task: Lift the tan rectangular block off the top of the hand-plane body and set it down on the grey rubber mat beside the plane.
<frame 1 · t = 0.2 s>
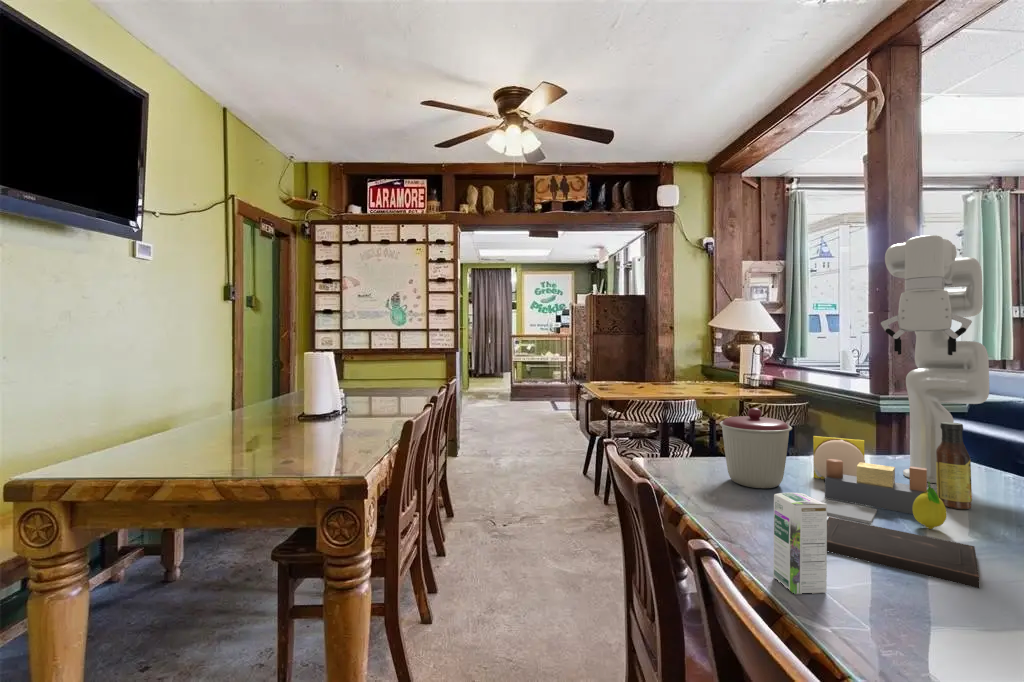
hand: (924, 354, 121), 36 cm above the table, tool pointing down, fingers open, 9 cm apart
syrup box: (799, 586, 80), on the table
tan rectangular block: (875, 482, 119), point 5 cm above the table, touching plane body
canister: (754, 484, 136), on the table
mat: (847, 512, 113), on the table
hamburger: (838, 482, 137), on the table
plane body: (875, 503, 119), on the table
hardcover book: (893, 555, 92), on the table
sauce bottle: (953, 506, 117), on the table
lemon: (930, 530, 103), on the table
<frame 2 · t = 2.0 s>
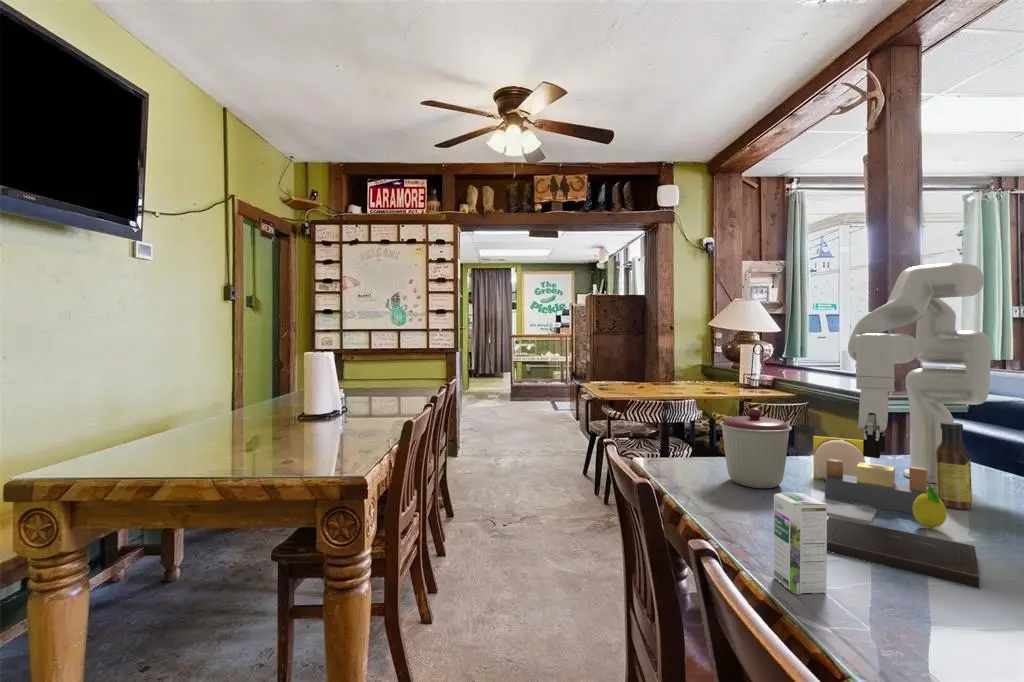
hand: (874, 454, 119), 12 cm above the table, tool pointing down, fingers open, 9 cm apart
nothing on the table moved.
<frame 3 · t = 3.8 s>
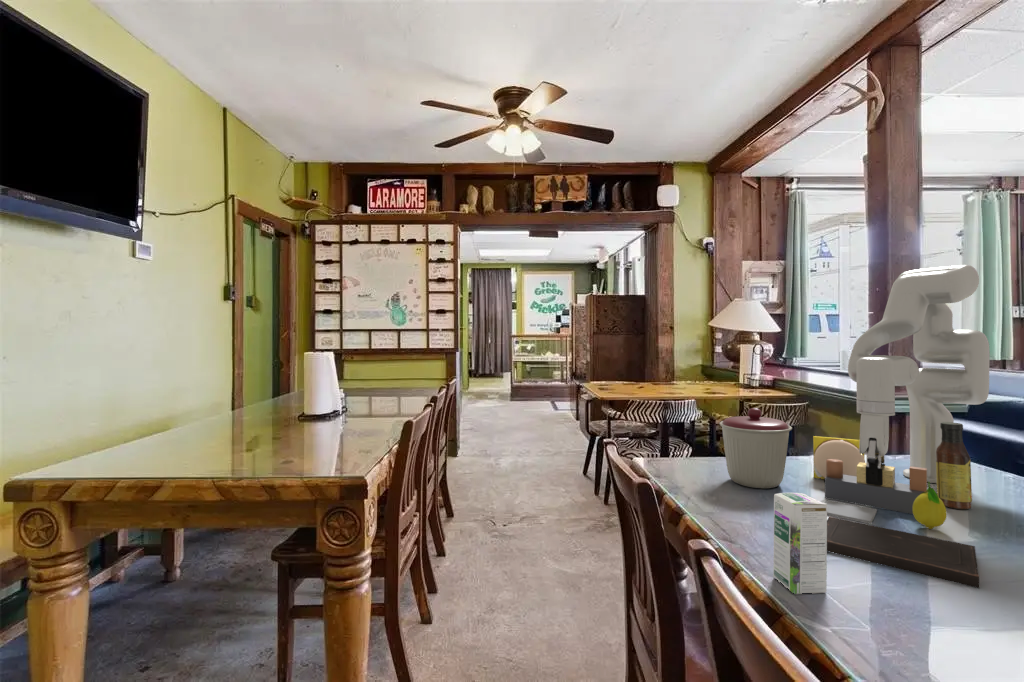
hand: (875, 481, 119), 5 cm above the table, tool pointing down, fingers closed on tan rectangular block, 5 cm apart
tan rectangular block: (875, 482, 119), point 5 cm above the table, touching gripper, plane body
everything else where it was.
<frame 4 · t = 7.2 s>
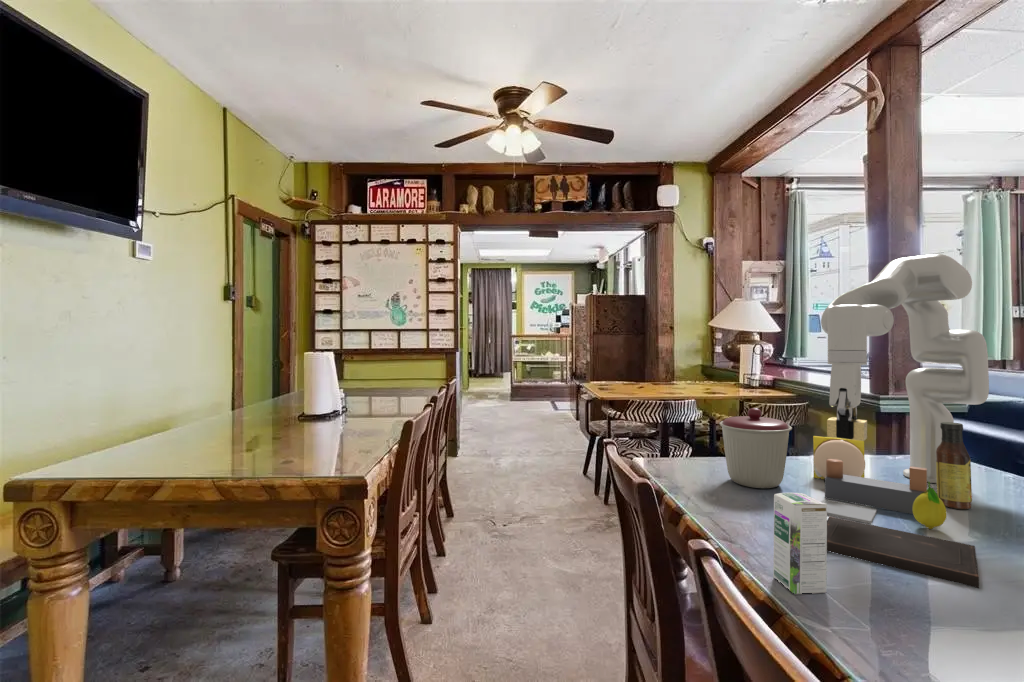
hand: (847, 435, 113), 18 cm above the table, tool pointing down, fingers closed on tan rectangular block, 5 cm apart
tan rectangular block: (847, 437, 113), point 18 cm above the table, touching gripper
everything else where it was.
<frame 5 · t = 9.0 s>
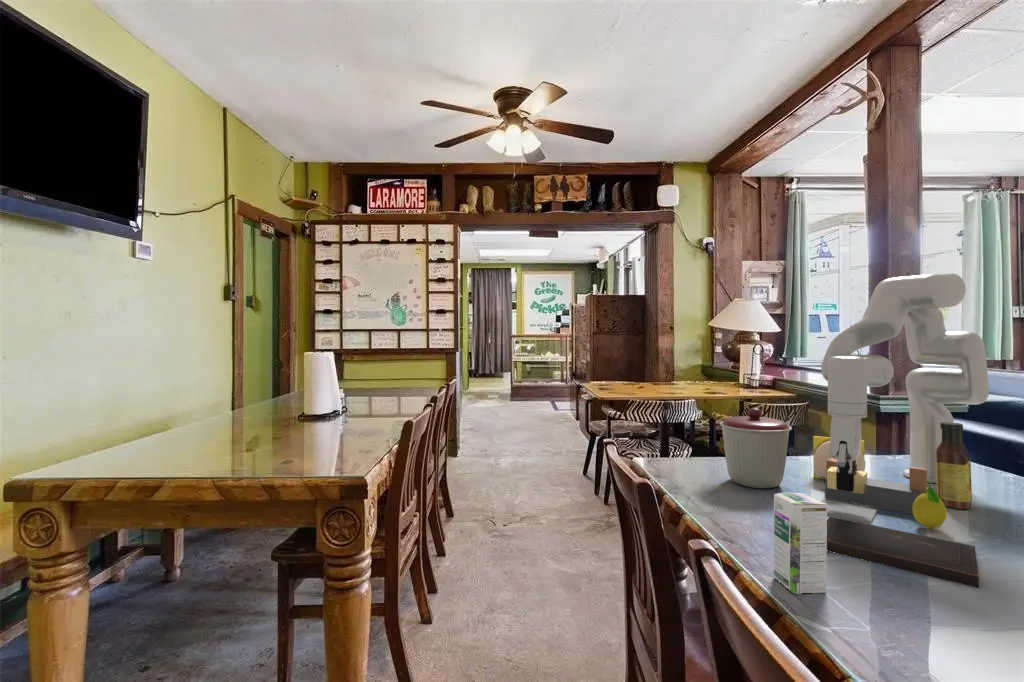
hand: (847, 486, 113), 6 cm above the table, tool pointing down, fingers closed on tan rectangular block, 5 cm apart
tan rectangular block: (847, 488, 113), point 6 cm above the table, touching gripper
everything else where it was.
when the fingers open (3 cm above the table, at t = 10.6 s): tan rectangular block drops 2 cm, resting on mat.
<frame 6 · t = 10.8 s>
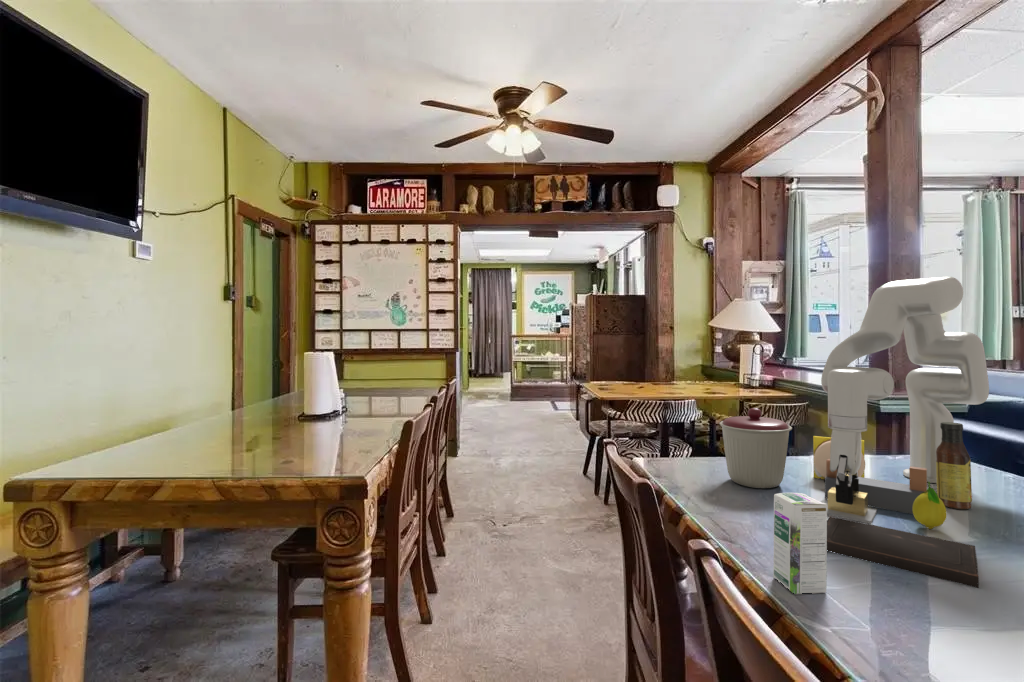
hand: (847, 498, 113), 3 cm above the table, tool pointing down, fingers open, 7 cm apart
tan rectangular block: (847, 509, 113), point 1 cm above the table, touching mat
everything else where it was.
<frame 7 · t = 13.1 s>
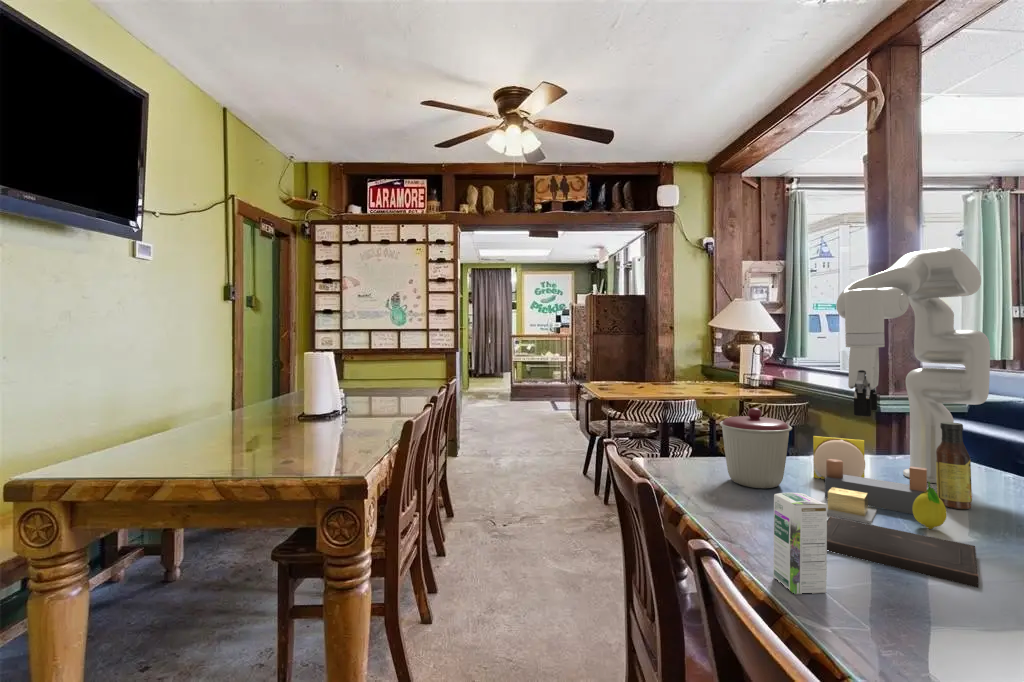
hand: (865, 412, 116), 23 cm above the table, tool pointing down, fingers open, 9 cm apart
nothing on the table moved.
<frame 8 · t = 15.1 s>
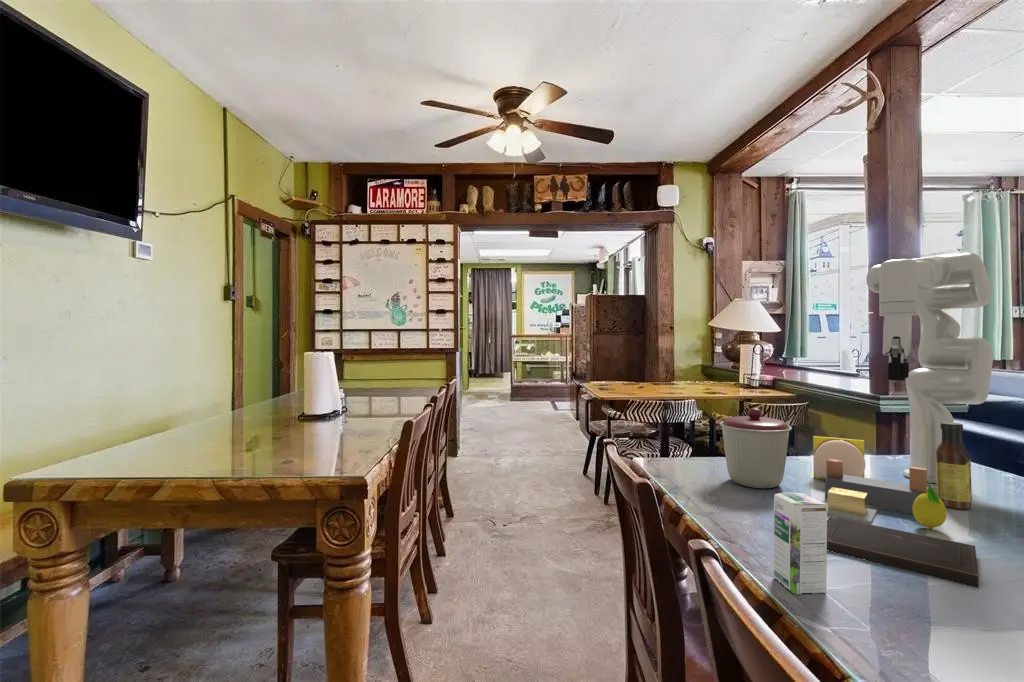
hand: (898, 378, 121), 30 cm above the table, tool pointing down, fingers open, 9 cm apart
nothing on the table moved.
at the end: tan rectangular block inside the target area on the mat (0.1 cm from its centre), point 0.6 cm above the mat's base; tan rectangular block tilted 0°; the gripper is holding nothing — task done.
